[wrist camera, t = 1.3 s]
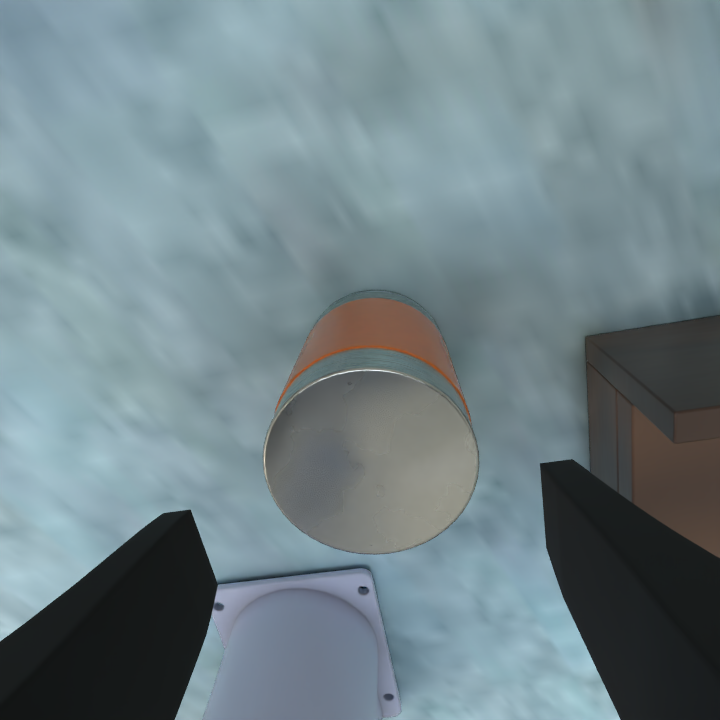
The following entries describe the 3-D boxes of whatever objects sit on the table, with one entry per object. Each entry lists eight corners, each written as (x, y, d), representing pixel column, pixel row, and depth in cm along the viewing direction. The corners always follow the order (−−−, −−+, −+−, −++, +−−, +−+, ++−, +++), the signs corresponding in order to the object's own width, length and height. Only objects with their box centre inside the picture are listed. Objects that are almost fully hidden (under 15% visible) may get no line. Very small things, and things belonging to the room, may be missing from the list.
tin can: (453, 408, 21) (492, 544, 13) (322, 428, 21) (288, 568, 14) (435, 276, 19) (468, 348, 12) (291, 301, 20) (234, 385, 12)
